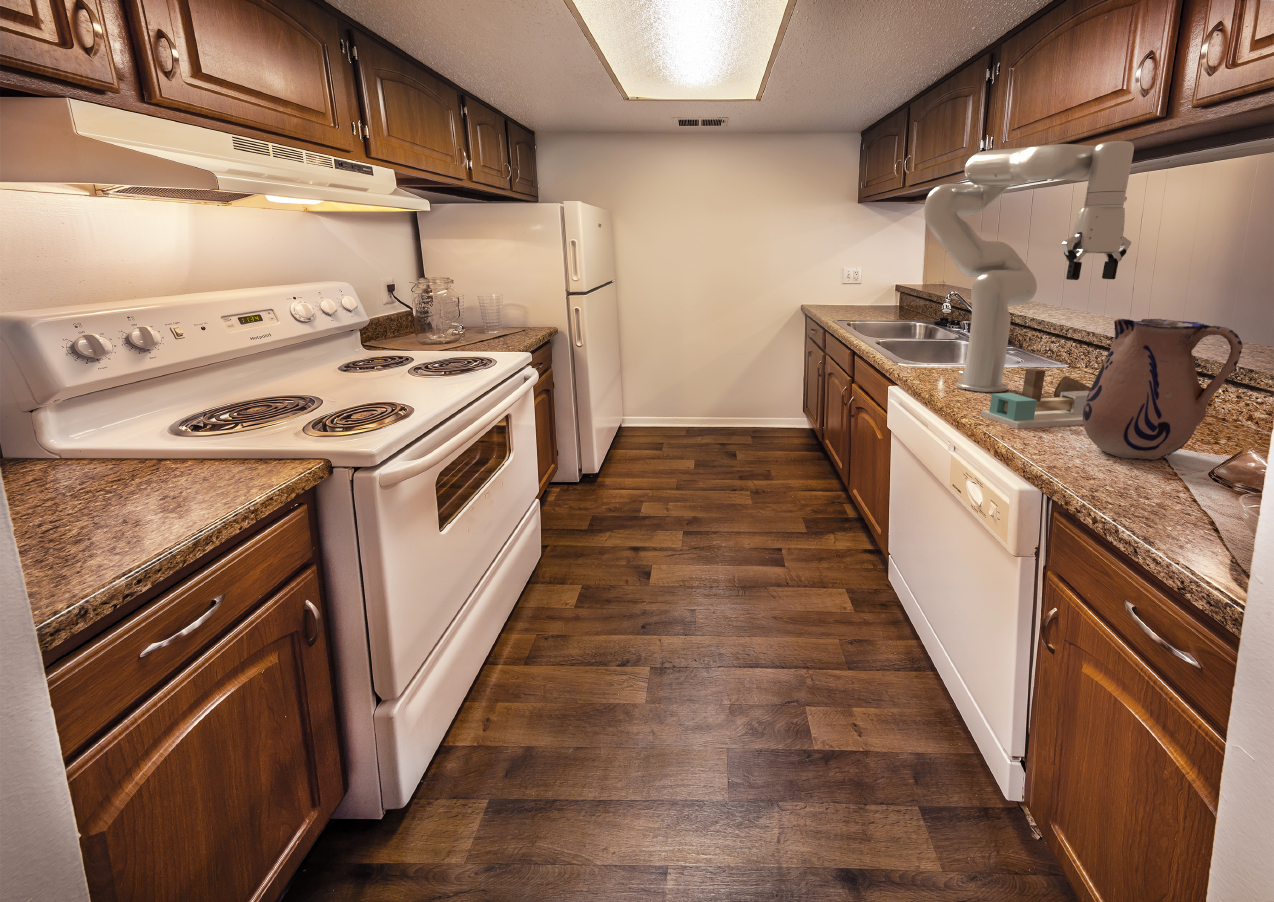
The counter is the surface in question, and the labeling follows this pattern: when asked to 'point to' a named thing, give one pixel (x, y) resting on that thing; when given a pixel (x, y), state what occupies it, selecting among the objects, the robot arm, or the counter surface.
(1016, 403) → the socket block
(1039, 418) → the base board
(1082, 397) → the sleeve
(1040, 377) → the tan wooden l-shaped piece
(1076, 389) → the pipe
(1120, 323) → the ceramic pitcher
